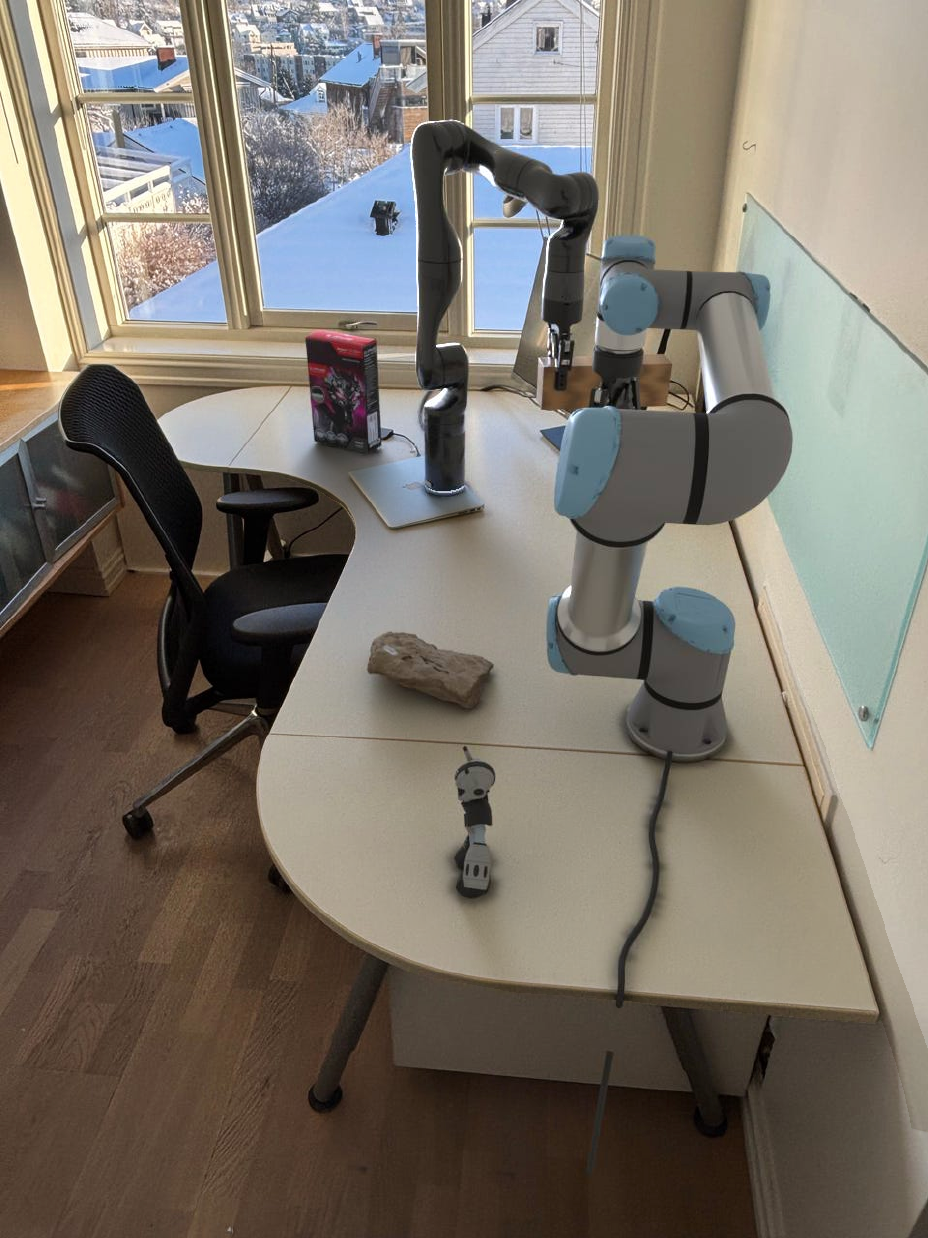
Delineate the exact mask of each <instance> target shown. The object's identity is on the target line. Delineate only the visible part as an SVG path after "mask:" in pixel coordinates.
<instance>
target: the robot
mask: <svg viewBox="0 0 928 1238" xmlns="http://www.w3.org/2000/svg"><path fill="white" fill-rule="evenodd" d="M462 751H463V753H464V755H465V759H466V762H464V763H462V764H461V765H460V766H459V767H458V768H456V771H455V774H454V785H455V786H456V787H457V788H456V789H457V799H458V801H460V804H461V807H462V809H463V811H464V813H463V820H464V822H463V823H464V828H465V830H466V832H467V836H466V837H465V840H464V841H463V844H462V845H461V847H460V848H459V850H458V851H457V852H456V854H454V855H455V856H454V857H453V859H454V862H455V863H456V866H457V867H458V868H460V869H461V870H462V871H461V873H460V875H459V877H458V878H457V882H456V885H455V889H456V890H457V891H458V893H460V895H461V896H463V897H466V898H470V899H472V898H478V897H479V896H482V895H484V894H486V893H488V892H489V890H490V887H491V869H492V854H491V849H490V846H488V844H487V843H486V837H485V835H486V826H488V827H493V812H492V811H493V810H492V807H491V804H490V803H489V793H490V791H491V790H490V789H491V788H492V787H493V786H494V784H495V783H496V772H495V769H494V767H493V766H492V765H491V764H489V763H488V762H486V761H484V760H482V759H480V758H474V757H473V756H472V755H471V753H470V751H469V749H468V747H467V746H466V745H463V747H462Z"/></svg>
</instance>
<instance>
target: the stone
mask: <svg viewBox="0 0 928 1238" xmlns="http://www.w3.org/2000/svg"><path fill="white" fill-rule="evenodd" d="M368 658H369V659H368V663H367V669H366V671H367V673H368V674H369V675H381V676H384V677H385V678H386V679H387V681H388V682H390V683H392V684H397V685H399V684H400V685H401V686H402V687H403V688H404V687H405V688H408V689H415V690H417V691H419V692H422V693H426V695H429V696H432V697H435V698H436V699H438V700H441V701H443V702H450V703H456V704H457V705H459V706H460V707H462V708H465V709H468V710H470V709H473V708H475V707H476V706H477V704H478V702H479V700H480V699H481V696H482V688H483V687H484V685H485V683H486V682H487V681H486V680H487V678H488V677H489V676H490V672H491V670H493V668H494V667H495V664H493V662H491V661H490V660H488V659H487V658H485V657H483V656H482V655H481V656H480V655H477V654H470V653H463V652H457V651H454V650H452V649H441V648H438V647H437V646H436V645H435V644H433V643H428V642H426V641H425V640H424V639H422V638H420V637H419V636H418V635H417V634H416V633H409V632H404V631H402V632H397V631H395V632H393V631H386V632H385V633H382V634H380V635H379V636H377V637H376V638H374V639H373V640H372V643H371V646H370V655H369V657H368Z"/></svg>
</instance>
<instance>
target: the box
mask: <svg viewBox="0 0 928 1238" xmlns="http://www.w3.org/2000/svg"><path fill="white" fill-rule="evenodd" d="M562 364H565V360H562ZM592 364H593V355H573V359H572V369H571V371H568V372H567V385H566V390H564V391H556V390H555V388H554V383H555V359H554V358H553V357H548V356H538V362H537V382H536V384H537V385H536V397H535V399H536V401H537V403H538V407H539V408H540V410H541V411H550V410H578V409H581V408H588V407H589V401H590V394H591V390H592V388H595V389H598V388H599V385H600V384H601V380H602V378H601V377H600V376H599V375H598V374H596V373H595V372H594V371H593V369H592ZM672 370H673V363H672V362H671V360H670V359H669V358H668V357H667V356H666V355H665V353H651V354H644V355H643V364H642V371H641V373H640V374H639V378H638V381H639V393H640V405H641V408H650V407H651V408H652V407H653V408H655V407H667V406H668V405H667V404H668V398H669V390H670V384H671V377H672ZM633 407H634V406H633ZM634 408H635V407H634Z"/></svg>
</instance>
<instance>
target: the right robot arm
mask: <svg viewBox="0 0 928 1238" xmlns="http://www.w3.org/2000/svg"><path fill="white" fill-rule="evenodd" d="M656 250H657V249H656V243H655V241H654V240H653V239H652V238H650V237H647V236H643V235H637V234H617V235H612V236H609V237H608V238H606V239H605V241H604V243H603V246H602V253H601V258H600V272H599V273H600V274H599V284H598V300H597V301H598V302H597V311H596V319H595V320H594V321H593V326H594V327H595V334H594V343H595V344H596V345H595V346H594V347H593V352H592V353H593V354H592V356H593V364H592V369H593V371H594V372H595V373H596V374H598V375H599V376H600V377H601V378H602V380H601V384H600V385H599V388H598V389H595V388H592V390H591V394H590V401H589V407H588V408H581V409H575V410H574V411H573V412H572V413H571V414H570V415H569V417H568V419H567V421H566V424H565V426H564V431H563V434H562V437H561V438H562V439H561V444H560V452H559V456H558V461H557V466H556V473H555V482H554V483H555V484H554V492H553V506H554V511H555V513H556V514H558V515H559V516H561V517H565V518H567V519H568V520H569V521H570V524H571V526H572V527H573V528H574V529H575V530H576V534H575V544H574V553H573V563H572V574H571V583H570V586H569V587H568V588H566V590H565V591H564V592H562V593H559V594H554V595H552V596H551V597H550V599H549V601H548V606H547V614H546V627H545V628H546V630H545V632H546V633H545V635H546V636H545V637H546V638H545V639H546V654H547V656H546V657H547V662H548V664H549V667H550V668H551V669H552V670H553V671H554V672H557V673H560V674H566V675H570V676H574V677H575V676H589V677H600V678H601V677H603V678H614V679H627V680H639V681H643V682H642V684H641V685H640V688H639V689H638V691H637V692H636V694H635V695H634V697H633V699H632V701H631V702H630V704H629V706H628V708H627V711H626V719H625V728H626V732H627V734H628V736H629V738H630V739H631V741H632V742H634V744H636V745H637V746H638V747H639V748H640V749H641V750H643V751H645V752H646V753H648V754H650V755H651V756H654V757H656V758H659V759H662V760H665V762H664V767H663V771H662V777H661V783H660V787H659V792H658V797H657V798H656V803H655V805H654V808H653V811H652V814H651V817H650V821H649V826H648V843H649V848H650V853H651V860H652V879H651V887H650V891H649V895H648V898H647V902H646V905H645V907H644V910H643V912H642V915H641V916H640V918H639V920H638V922H637V923H636V925H635V927H633V929H632V930H631V932H630V934H629V935H628V936H627V938H626V940H625V942H624V944H623V945H622V947H621V948H622V949H621V952H620V955H619V959H618V963H617V964H618V965H617V991H616V997H615V998H616V999H615V1007H616V1009H622V1007H623V1005H624V999H625V991H626V990H625V989H626V962H627V957H628V954H629V952H630V949H631V947H632V946H633V944H634V942H635V941H636V939H637V938H638V936H639V934H640V933H641V932H642V930H643V929H644V927H645V925H646V923H647V922H648V919H649V917H650V915H651V912H652V909H653V906H654V903H655V901H656V897H657V892H658V888H659V881H660V858H659V852H658V848H657V843H656V833H655V832H656V824H657V820H658V816H659V814H660V811H661V808H662V805H663V802H664V798H665V794H666V790H667V784H668V779H669V776H670V775H669V774H670V769H671V764H672V762H675V763H694V762H700V761H703V760H706V759H709V758H711V757H714V755H716V754H718V752H720V751H721V750H722V748H723V747H724V744H725V743H726V740H727V739H726V738H727V733H728V721H727V716H726V712H725V708H724V707H725V706H724V701H723V692H724V686H725V682H726V678H727V674H728V673H727V672H728V668H729V664H730V659H731V654H732V651H733V649H734V646H735V632H736V620H735V617H734V614H733V612H732V610H731V609H730V608H729V607H728V605H726V603H724V602H723V601H722V600H720V599H718V598H717V597H716V596H714V595H712V594H711V593H708V592H707V591H704V590H700V589H697V588H693V587H687V586H671V587H669V588H665V589H663V590H661V591H659V593H657V596H656V597H655V598H654V600H643V599H640V600H639V599H638V598H637V597H636V595H637V590H638V585H639V581H640V577H641V573H642V568H643V564H644V561H645V555H646V552H647V547H648V543H649V542H651V541H652V540H653V539H655V538H656V537H657V536H658V535H659V533H660V532H662V530H663V529H664V527H665V526H666V524H674V525H675V524H676V525H691V526H714V525H720V524H725V523H727V522H731V521H733V520H736V519H738V518H740V517H742V516H744V515H746V514H747V513H749V512H750V511H752V510H754V509H755V508H756V507H758V506H759V505H760V504H761V503H763V502H764V501H765V500H766V499H767V498H768V496H769V495H770V494H771V493H773V491H774V490H775V488H776V487H777V486H778V485H779V483H780V482H781V480H782V478H783V477H784V475H785V473H786V471H787V469H788V466H789V464H790V460H791V457H792V453H793V442H794V440H793V436H794V435H793V429H792V425H791V420H790V416H789V413H788V411H787V410H786V408H785V406H784V405H783V404H782V403H781V402H780V401H779V400H777V399H776V398H775V395H774V390H773V386H772V382H771V377H770V372H769V368H768V367H769V366H768V363H767V359H766V353H765V350H764V349H765V348H764V346H763V341H762V337H761V332H760V331H761V330H763V328H764V327H765V324H766V322H767V320H768V316H769V310H770V305H771V282H770V280H769V278H768V277H767V276H766V275H764V274H761V273H760V274H759V273H752V272H751V273H750V272H746V271H734V272H733V271H701V270H699V271H697V270H673V269H655V265H656ZM648 329H657V330H658V329H660V330H661V329H662V330H683V331H684V330H685V331H696V334H697V341H698V342H697V344H698V351H699V360H700V361H699V362H700V369H701V377H702V385H703V394H704V403H705V411H706V412H692V411H675V410H674V411H671V410H652V409H651V410H650V409H649V410H648V409H642V407H641V405H640V393H639V381H638V378H639V374H640V373H641V371H642V364H643V355H645V351H644V349H643V347H644V346H645V345H646V340H647V331H648ZM633 406H634V407H633ZM613 1059H614V1051H610V1050H606V1053H605V1058H604V1064H603V1070H602V1076H601V1083H600V1088H599V1094H598V1101H597V1106H596V1111H595V1118H594V1124H593V1130H592V1136H591V1141H590V1150H589V1154H588V1160H587V1162H588V1163H587V1166H586V1174H587V1175H593V1173H594V1169H595V1168H594V1167H595V1162H596V1157H597V1150H598V1144H599V1139H600V1134H601V1133H600V1132H601V1127H602V1121H603V1115H604V1109H605V1105H606V1099H607V1092H608V1088H609V1087H608V1086H609V1081H610V1075H611V1069H612V1066H613V1065H612V1064H613Z"/></svg>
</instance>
